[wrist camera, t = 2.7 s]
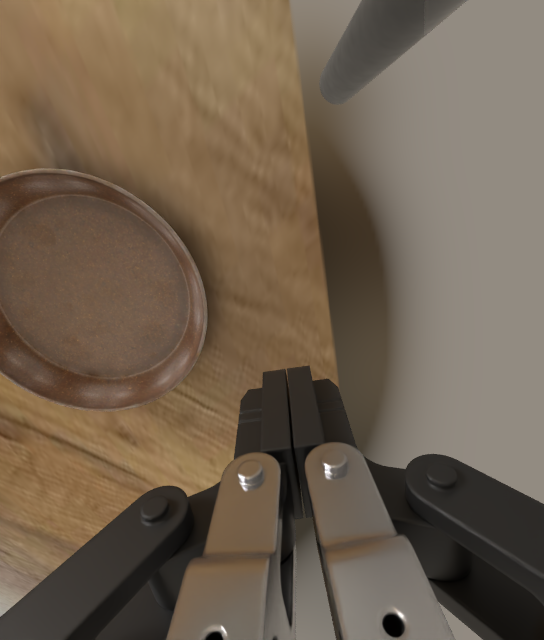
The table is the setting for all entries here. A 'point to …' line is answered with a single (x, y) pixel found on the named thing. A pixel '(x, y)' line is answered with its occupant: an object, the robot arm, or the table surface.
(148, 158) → the table surface
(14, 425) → the table surface
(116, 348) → the plant saucer
